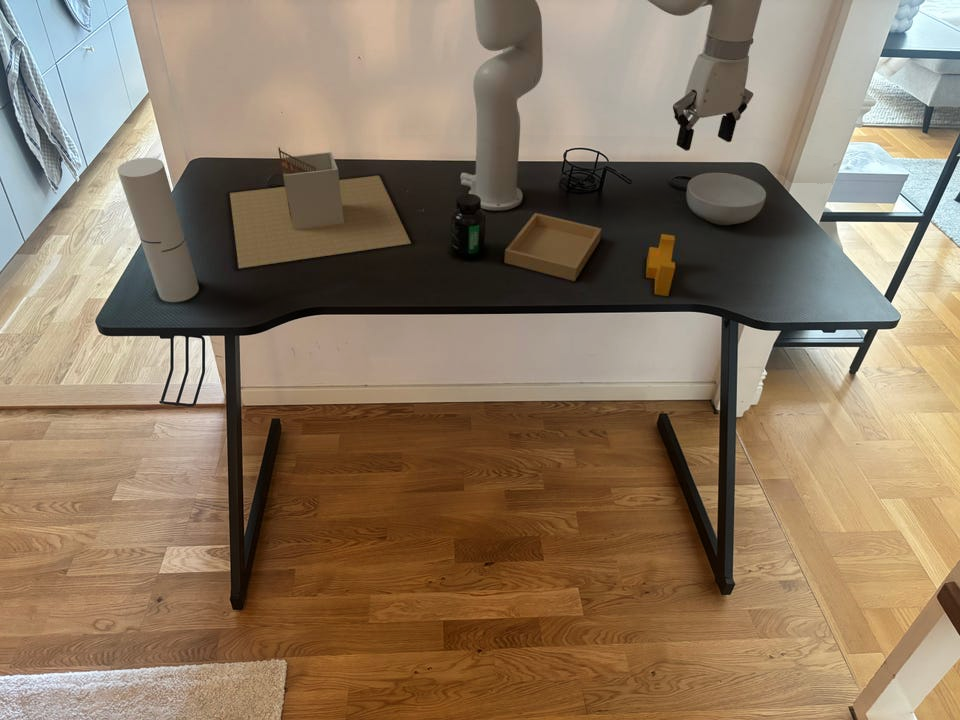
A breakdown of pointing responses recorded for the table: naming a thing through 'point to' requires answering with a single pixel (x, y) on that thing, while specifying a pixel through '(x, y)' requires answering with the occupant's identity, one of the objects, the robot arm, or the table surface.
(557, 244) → the tray
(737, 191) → the cereal bowl
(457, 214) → the supplement bottle
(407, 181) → the table surface
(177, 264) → the cylindrical container
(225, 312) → the table surface
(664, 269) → the yellow stepped block
